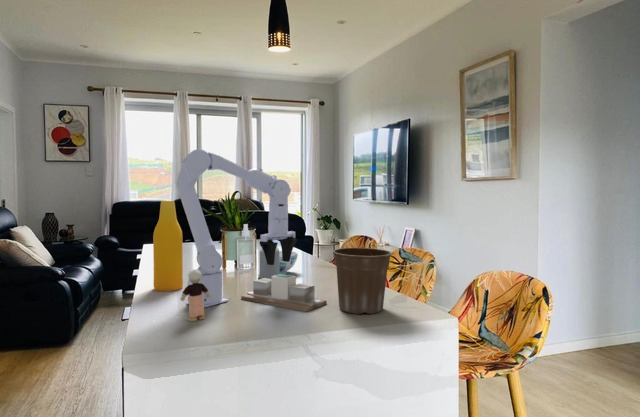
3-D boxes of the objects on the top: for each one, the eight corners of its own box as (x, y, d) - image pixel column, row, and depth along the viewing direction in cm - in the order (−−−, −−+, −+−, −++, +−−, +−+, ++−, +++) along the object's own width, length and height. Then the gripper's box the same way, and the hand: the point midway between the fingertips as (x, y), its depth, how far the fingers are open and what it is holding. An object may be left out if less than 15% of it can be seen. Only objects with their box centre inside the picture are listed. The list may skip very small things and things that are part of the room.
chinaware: (302, 270, 184) (303, 251, 184) (289, 277, 170) (289, 257, 170) (269, 268, 189) (269, 250, 188) (253, 275, 174) (253, 255, 174)
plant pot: (400, 306, 129) (400, 250, 128) (377, 320, 115) (377, 257, 114) (348, 299, 137) (349, 246, 136) (321, 311, 123) (322, 252, 122)
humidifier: (283, 284, 158) (283, 212, 157) (279, 289, 150) (279, 213, 149) (260, 283, 159) (260, 212, 158) (254, 288, 151) (254, 213, 150)
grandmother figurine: (203, 314, 119) (202, 266, 119) (212, 317, 117) (211, 268, 116) (177, 321, 113) (176, 270, 113) (186, 324, 111) (186, 272, 110)
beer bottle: (153, 292, 144) (152, 201, 143) (154, 286, 153) (153, 200, 152) (183, 290, 147) (182, 201, 146) (182, 284, 156) (182, 200, 155)
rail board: (306, 311, 123) (306, 291, 122) (241, 299, 136) (241, 281, 136) (326, 303, 131) (326, 285, 131) (263, 293, 144) (263, 275, 144)
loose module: (287, 299, 130) (287, 277, 130) (271, 296, 133) (271, 275, 133) (295, 296, 133) (296, 275, 133) (280, 293, 137) (280, 273, 136)
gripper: (273, 220, 130) (273, 267, 131) (303, 218, 142) (302, 261, 143) (255, 219, 134) (255, 265, 135) (285, 217, 146) (285, 259, 147)
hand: (278, 263), depth 139 cm, fingers open, 7 cm apart
